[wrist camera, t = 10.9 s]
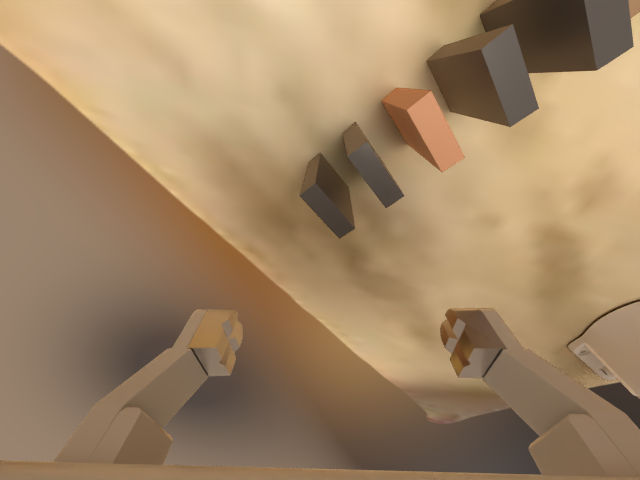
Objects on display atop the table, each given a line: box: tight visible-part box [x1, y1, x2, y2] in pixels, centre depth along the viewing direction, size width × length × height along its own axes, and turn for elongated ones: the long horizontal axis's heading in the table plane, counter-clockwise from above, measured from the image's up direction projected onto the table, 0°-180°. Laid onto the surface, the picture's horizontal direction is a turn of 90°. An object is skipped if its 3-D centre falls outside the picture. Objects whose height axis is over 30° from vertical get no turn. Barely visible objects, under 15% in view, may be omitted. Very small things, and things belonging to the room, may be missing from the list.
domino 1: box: [300, 153, 355, 239], centre depth 22 cm, size 2×5×9 cm, turn 40°
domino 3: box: [382, 88, 465, 172], centre depth 19 cm, size 2×5×9 cm, turn 40°
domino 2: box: [342, 122, 404, 208], centre depth 21 cm, size 2×5×9 cm, turn 40°
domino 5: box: [480, 0, 634, 73], centre depth 16 cm, size 2×5×9 cm, turn 40°
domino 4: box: [426, 24, 539, 127], centre depth 17 cm, size 2×5×9 cm, turn 40°
